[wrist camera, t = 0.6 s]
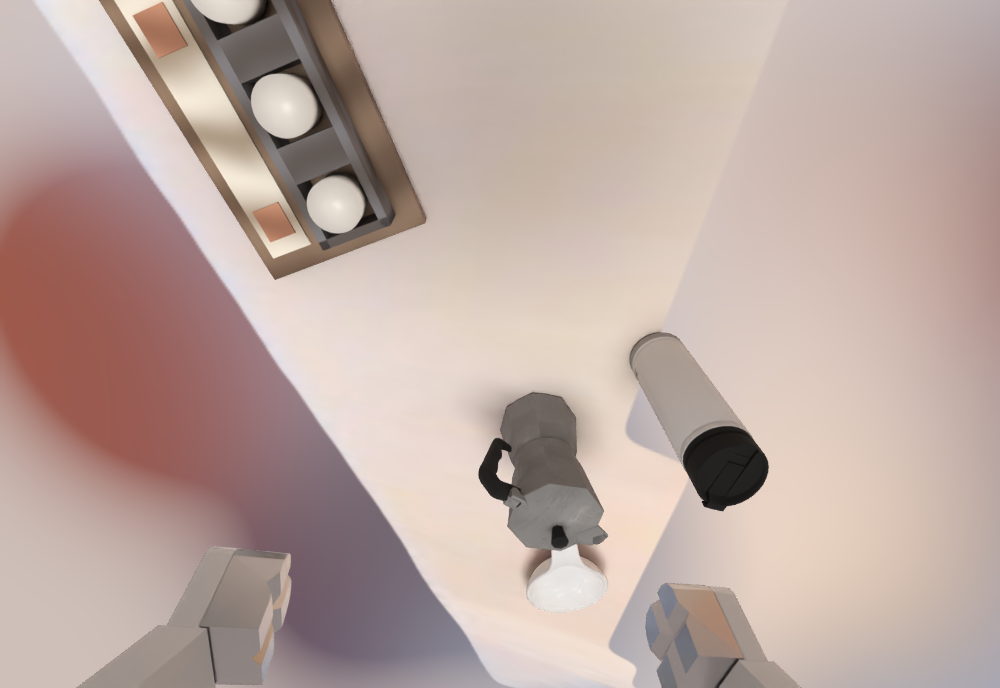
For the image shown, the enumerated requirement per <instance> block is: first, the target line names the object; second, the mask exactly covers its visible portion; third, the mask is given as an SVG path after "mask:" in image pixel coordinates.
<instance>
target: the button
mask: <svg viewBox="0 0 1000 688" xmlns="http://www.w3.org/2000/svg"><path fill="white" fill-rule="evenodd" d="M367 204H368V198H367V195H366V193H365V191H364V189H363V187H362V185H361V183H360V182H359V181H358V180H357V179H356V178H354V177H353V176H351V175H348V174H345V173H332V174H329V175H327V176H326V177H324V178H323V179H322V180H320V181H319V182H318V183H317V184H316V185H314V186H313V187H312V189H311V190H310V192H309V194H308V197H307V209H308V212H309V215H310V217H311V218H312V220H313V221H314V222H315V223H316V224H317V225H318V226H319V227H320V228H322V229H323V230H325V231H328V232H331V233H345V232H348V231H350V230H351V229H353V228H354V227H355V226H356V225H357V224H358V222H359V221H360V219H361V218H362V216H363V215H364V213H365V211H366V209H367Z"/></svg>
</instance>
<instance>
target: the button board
mask: <svg viewBox="0 0 1000 688" xmlns="http://www.w3.org/2000/svg"><path fill="white" fill-rule="evenodd" d="M99 1H100V3H101V4H102V6H103V7H104V9H105V11H106V12H107V14H108V15H109V17H110V19H111V20H112V22H113V23H114V25H115V27H116V28H117V30H118V31H119V33H120V34H121V36H122V38H123V39H124V41H125V42H126V44H127V46H128V47H129V49H130V50H131V52H132V54H133V55H134V57H135V58H136V60H137V62H138V63H139V65H140V66H141V68H142V69H143V71H144V73H145V74H146V76H147V77H148V79H149V81H150V82H151V84H152V85H153V87H154V89H155V90H156V92H157V93H158V95H159V96H160V98H161V100H162V101H163V103H164V104H165V106H166V108H167V109H168V111H169V112H170V114H171V116H172V117H173V119H174V120H175V122H176V124H177V125H178V127H179V128H180V130H181V131H182V133H183V135H184V136H185V138H186V139H187V141H188V143H189V144H190V146H191V147H192V149H193V151H194V152H195V154H196V155H197V157H198V159H199V160H200V162H201V163H202V165H203V166H204V168H205V170H206V171H207V173H208V174H209V176H210V178H211V179H212V181H213V182H214V184H215V186H216V187H217V189H218V190H219V192H220V194H221V195H222V197H223V198H224V200H225V201H226V203H227V205H228V206H229V208H230V209H231V211H232V213H233V214H234V216H235V217H236V219H237V221H238V222H239V224H240V225H241V227H242V229H243V230H244V232H245V233H246V235H247V236H248V238H249V240H250V241H251V243H252V244H253V246H254V248H255V249H256V251H257V252H258V254H259V256H260V257H261V259H262V260H263V262H264V264H265V265H266V267H267V268H268V270H269V271H270V273H271V275H272V276H273V278H274V279H275V280H276V279H279V278H281V277H284V276H287V275H289V274H292V273H295V272H297V271H300V270H302V269H305V268H308V267H310V266H313V265H316V264H318V263H321V262H324V261H326V260H329V259H332V258H334V257H337V256H339V255H342V254H345V253H347V252H350V251H353V250H355V249H358V248H361V247H363V246H366V245H368V244H371V243H374V242H376V241H379V240H382V239H384V238H387V237H390V236H392V235H395V234H398V233H400V232H403V231H405V230H408V229H411V228H413V227H416V226H419V225H421V224H424V223H425V222H426V217H425V215H424V212H423V210H422V208H421V206H420V203H419V201H418V199H417V196H416V194H415V192H414V190H413V187H412V185H411V183H410V180H409V178H408V176H407V174H406V171H405V169H404V167H403V165H402V162H401V160H400V158H399V155H398V153H397V151H396V149H395V146H394V144H393V142H392V139H391V137H390V135H389V133H388V130H387V128H386V126H385V123H384V121H383V119H382V117H381V114H380V112H379V110H378V108H377V105H376V103H375V101H374V98H373V96H372V94H371V92H370V89H369V87H368V85H367V82H366V80H365V78H364V76H363V73H362V71H361V69H360V66H359V64H358V62H357V60H356V57H355V55H354V53H353V50H352V48H351V46H350V44H349V41H348V39H347V37H346V35H345V32H344V30H343V28H342V25H341V23H340V21H339V19H338V16H337V14H336V12H335V9H334V7H333V5H332V3H331V0H267V2H266V7H265V10H264V13H263V14H262V16H261V17H260V18H259V19H258V20H257V21H256V22H254V23H253V24H250V25H244V26H241V25H233V24H226V23H220V22H216V21H214V20H211V19H209V18H208V17H206V16H205V15H203V14H202V13H201V12H200V11H199V10H198V9H197V8H196V7H195V6H194V4H193V3H192V1H191V0H99ZM281 73H293V74H297V75H300V76H302V77H304V78H305V79H307V80H308V81H309V82H310V83H311V84H312V85H313V87H314V89H315V91H316V93H317V95H318V97H319V99H320V101H321V104H322V114H321V118H320V120H319V122H318V124H317V125H316V126H315V127H314V128H313V129H312V130H310V131H308V132H306V133H304V134H302V135H300V136H298V137H295V138H288V139H286V138H280V137H277V136H274V135H272V134H271V133H269V132H268V131H266V130H265V129H264V128H263V127H262V126H261V125H260V124H259V122H258V121H257V119H256V117H255V115H254V113H253V110H252V106H251V94H252V91H253V88H254V86H255V84H256V83H257V82H258V81H259V80H260V79H261V78H263V77H265V76H267V75H271V74H281ZM332 173H345V174H348V175H351V176H353V177H354V178H356V179H357V180H358V181H359V182H360V183H361V185H362V187H363V189H364V191H365V193H366V195H367V198H368V204H367V209H366V211H365V213H364V215H363V216H362V218H361V219H360V221H359V222H358V224H357V225H356V226H355V227H354V228H353V229H351V230H350V231H348V232H345V233H331V232H328V231H325V230H323V229H322V228H320V227H319V226H318V225H317V224H316V223H315V222H314V221H313V220H312V218H311V217H310V215H309V212H308V209H307V197H308V194H309V192H310V190H311V189H312V187H313V186H314V185H316V184H317V183H318V182H319V181H320V180H322V179H323V178H324V177H326V176H327V175H329V174H332Z"/></svg>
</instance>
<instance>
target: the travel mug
mask: <svg viewBox="0 0 1000 688" xmlns="http://www.w3.org/2000/svg"><path fill="white" fill-rule="evenodd" d="M630 365H631V368H632V370H633V372H634V374H635V376H636V378H637V380H638V381H639V383H640V385H641V387H642V389H643V391H644V393H645V395H646V397H647V399H648V401H649V402H650V404H651V406H652V408H653V410H654V412H655V414H656V416H657V418H658V420H659V422H660V424H661V425H662V427H663V429H664V431H665V433H666V435H667V437H668V439H669V441H670V442H671V444H672V446H673V448H674V450H675V452H676V454H677V456H678V458H679V460H680V462H681V464H682V466H683V468H684V469H685V471H686V472H687V474H688V476H689V478H690V479H691V481H692V483H693V485H694V487H695V489H696V491H697V493H698V494H699V496H700V497H701V498H702V499H703V500H704V501H702V503H703V505H704V507H707V508H710V509H714V510H719V511H723V510H724V509H725V508H726V507H727V506H732V505H736V504H739V503H741V502H743V501H745V500H747V499H749V498H750V497H752V496H753V495H754V494H755V493H756V492H757V491H758V490H759V489H760V488H761V487H762V485H763V484H764V482H765V480H766V477H767V474H768V468H769V466H768V460H767V458H766V456H765V454H764V453H763V452H762V451H761V449H760V448H759V447H758V445H757V444H756V443H755V441H754V440H753V438H752V436H751V435H750V433H749V432H748V431H747V429H746V428H745V426H744V425H743V424H742V422H741V421H740V420H739V418H738V417H737V416H736V415H735V413H734V412H733V410H732V409H731V408H730V406H729V405H728V404H727V402H726V401H725V400H724V398H723V397H722V396H721V394H720V393H719V392H718V390H717V389H716V388H715V386H714V385H713V384H712V382H711V381H710V380H709V378H708V377H707V375H706V374H705V373H704V372H703V370H702V369H701V368H700V366H699V365H698V363H697V362H696V361H695V359H694V358H693V357H692V355H691V354H690V353H689V351H688V350H687V349H686V347H685V346H684V345H683V343H682V342H681V341H680V340H679V339H678V338H677V337H676V336H674V335H672V334H669V333H655V334H651V335H649V336H647V337H645V338H643V339H642V340H640V341H639V342H638V343H637V344H636V346H635V347H634V348H633V350H632V353H631V356H630Z"/></svg>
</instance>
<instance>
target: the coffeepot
mask: <svg viewBox="0 0 1000 688" xmlns="http://www.w3.org/2000/svg"><path fill="white" fill-rule="evenodd" d="M500 431H501V434H502V437H503V440H502V439H500V438H495V439H494V440H493V442H492V444H491V446H490V448H489V450H488V452H487V454H486V456H485V458H484V461H483V463H482V464H481V466H480V468H479V479H480V482H481V483H482V485H483V486H484V487H485V489H486V490H487V491H488V493H489V494H490V496H492V497H493V498H496V499H498V500H502V501H503V502H504V505H506V506H508V507H510V508H509V518H508V525H507V527H508V528H509V529H510V530H511V531H512V532H513V533H514V534H515V535H516V536H517V538H518V539H519V540H520V541H521V542H522V543H523V544H524V545H525V546H526V547H529V548H538V549H547V550H556V551H562V550H564V549H567V548H569V547H571V546H573V545H575V544H587V545H593V544H596V545H597V544H600V543H602V542H603V541H604V539H605V538H607V537H608V534H607V533H606V532H605V531H604V530H603V529H602V528H601V527H600V526H598V523H599V521H600V519H601V517H602V515H603V512H604V510H603V508H602V506H601V504H600V502H599V500H598V498H597V496H596V494H595V492H594V490H593V488H592V486H591V484H590V482H589V480H588V478H587V476H586V474H585V472H584V470H583V468H582V466H581V464H580V463H579V461H578V460H577V459H576V453H577V446H576V417H575V416H574V414H573V413H572V411H571V410H570V408H569V407H568V405H567V404H566V403H565V402H564V400H563V399H562V398H561V397H557V396H553V395H549V394H541V393H539V394H535V393H532V394H529V395H527V396H524V397H522V398H520V399H518V400H517V401H515V402H514V403H513V404H512V405H510V406H508V407H507V409H506V412H505V415H504V417H503V422H502V426H501V429H500ZM501 450H506V451H508V454H509V456H510V459H511V462H512V464H513V465H514V467H515V470H514V474H513V477H512V485H511V484H508V483H505V482H503V481H501V480H499V478H498V477H497V475H496V473H497V470H498V462H499V460H500V459H501V457H502V451H501Z"/></svg>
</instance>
